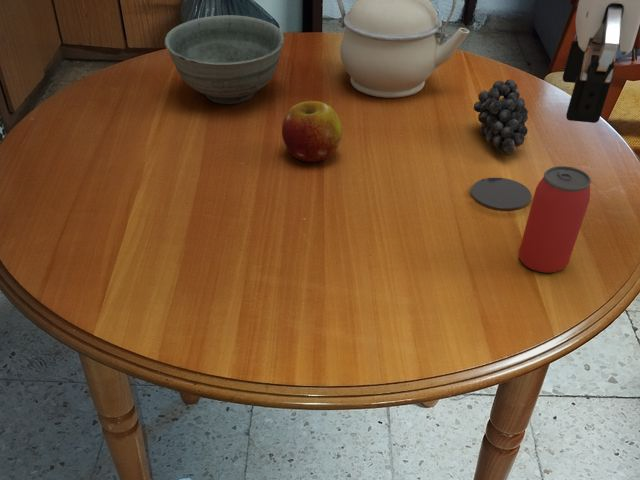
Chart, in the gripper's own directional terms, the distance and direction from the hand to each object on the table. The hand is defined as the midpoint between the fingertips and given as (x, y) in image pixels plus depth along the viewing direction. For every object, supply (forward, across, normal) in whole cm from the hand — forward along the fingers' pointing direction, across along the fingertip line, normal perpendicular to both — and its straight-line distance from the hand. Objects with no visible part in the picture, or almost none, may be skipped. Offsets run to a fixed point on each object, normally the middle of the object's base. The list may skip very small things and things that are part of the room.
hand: (579, 100), depth 72 cm
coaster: (+22, +20, +4) cm, 31 cm away
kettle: (+23, +57, +25) cm, 66 cm away
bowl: (+23, +46, +54) cm, 75 cm away
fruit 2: (+23, +37, +5) cm, 44 cm away
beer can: (+23, +4, -2) cm, 23 cm away
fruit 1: (+23, +26, +34) cm, 49 cm away
